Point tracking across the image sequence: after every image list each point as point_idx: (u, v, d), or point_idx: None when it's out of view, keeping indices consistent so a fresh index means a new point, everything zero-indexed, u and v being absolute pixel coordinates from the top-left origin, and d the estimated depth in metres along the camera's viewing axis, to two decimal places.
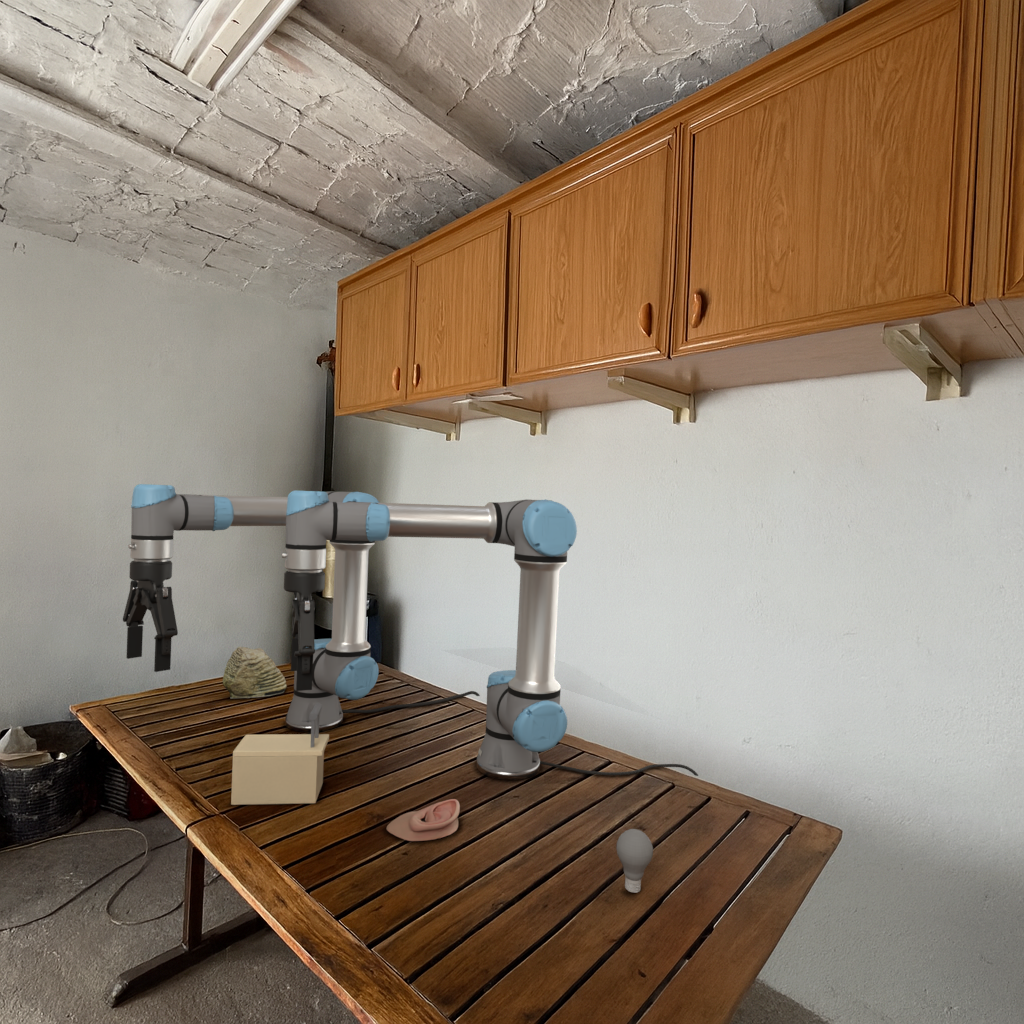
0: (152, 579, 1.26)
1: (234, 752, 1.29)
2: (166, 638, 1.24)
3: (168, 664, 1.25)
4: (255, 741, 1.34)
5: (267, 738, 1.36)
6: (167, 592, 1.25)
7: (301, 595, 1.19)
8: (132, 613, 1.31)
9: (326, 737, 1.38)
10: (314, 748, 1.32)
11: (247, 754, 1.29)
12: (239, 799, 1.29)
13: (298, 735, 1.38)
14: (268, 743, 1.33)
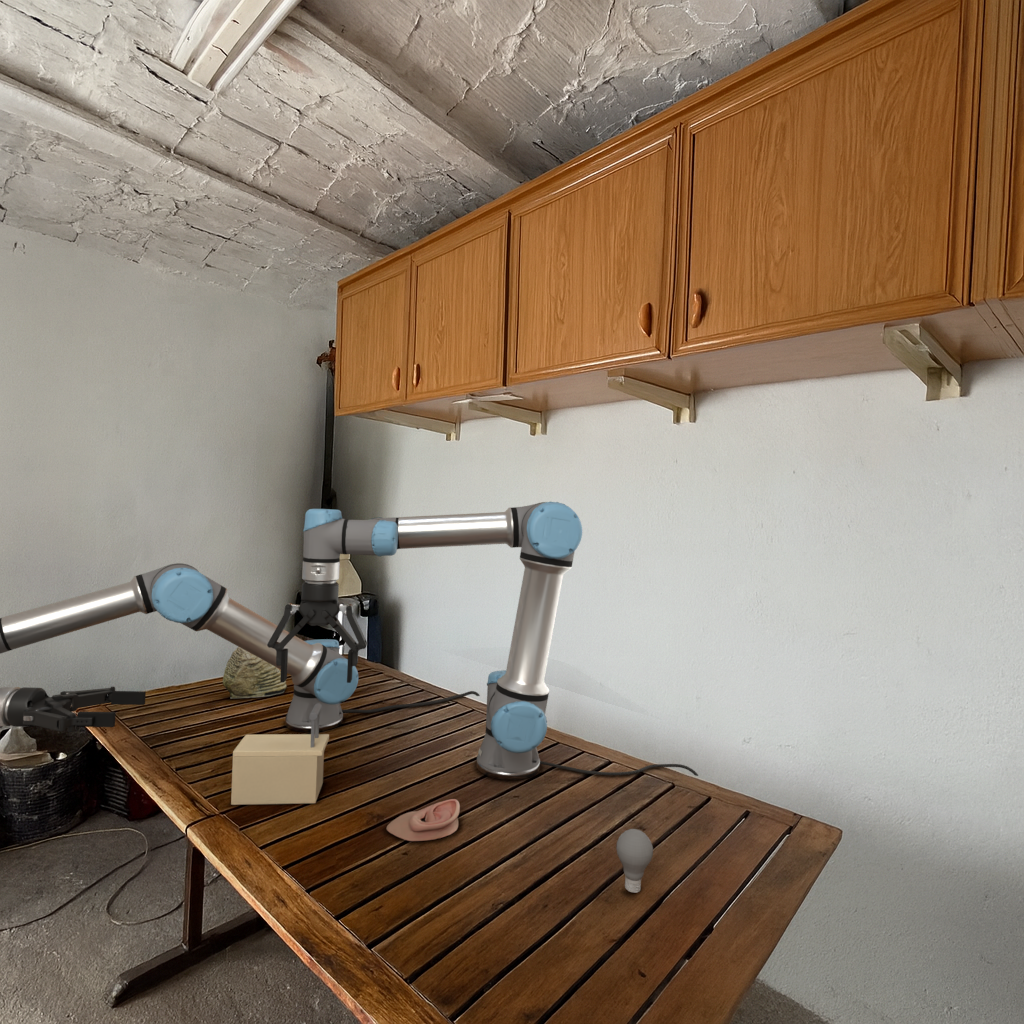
0: None
1: (234, 752, 1.29)
2: (72, 723, 1.21)
3: (107, 715, 1.23)
4: (255, 741, 1.34)
5: (267, 737, 1.36)
6: (27, 716, 1.21)
7: (336, 602, 1.34)
8: None
9: (326, 737, 1.38)
10: (314, 748, 1.32)
11: (247, 754, 1.29)
12: (239, 799, 1.29)
13: (298, 735, 1.38)
14: (268, 743, 1.33)
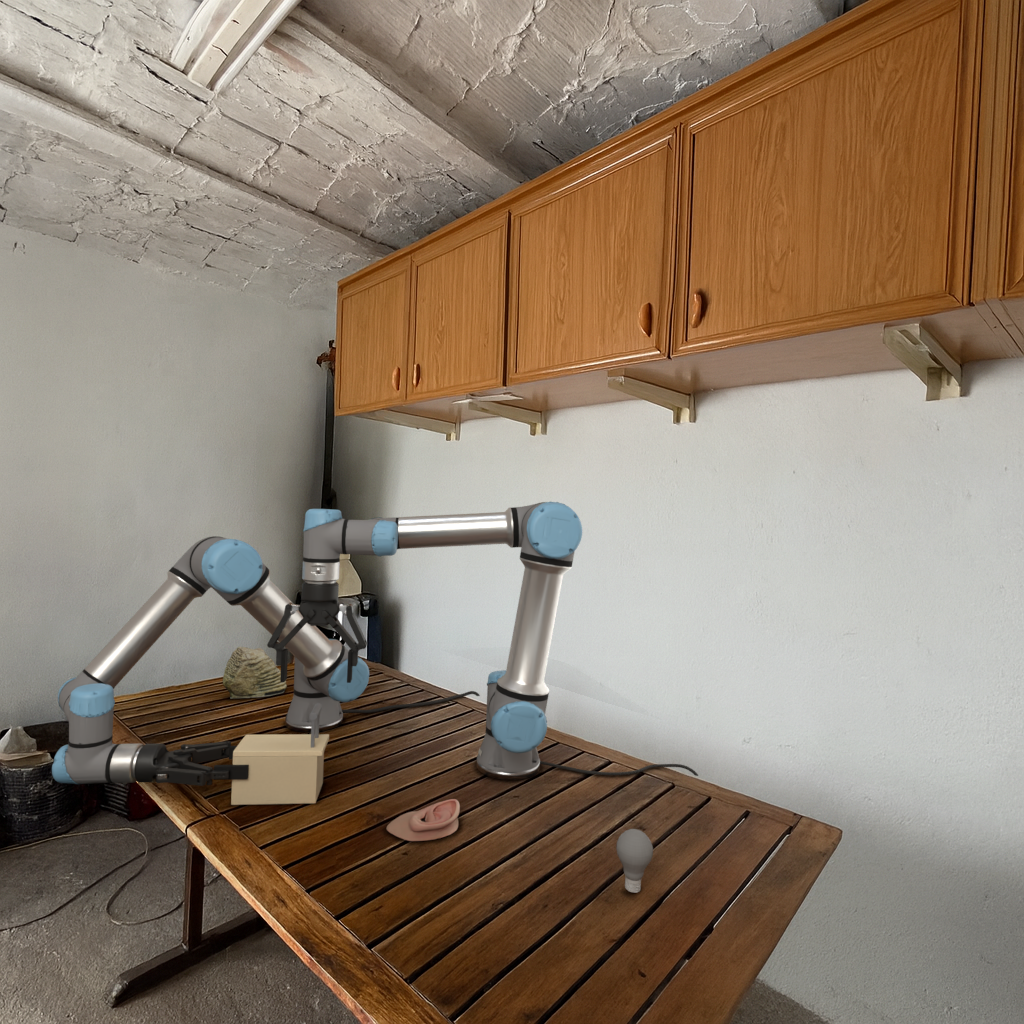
0: (151, 775, 1.27)
1: (234, 752, 1.28)
2: (210, 777, 1.26)
3: (242, 768, 1.28)
4: (255, 741, 1.34)
5: (267, 738, 1.36)
6: (161, 774, 1.25)
7: (336, 602, 1.34)
8: None
9: (326, 737, 1.38)
10: (314, 748, 1.32)
11: (247, 754, 1.29)
12: (239, 799, 1.29)
13: (298, 735, 1.38)
14: (268, 743, 1.33)
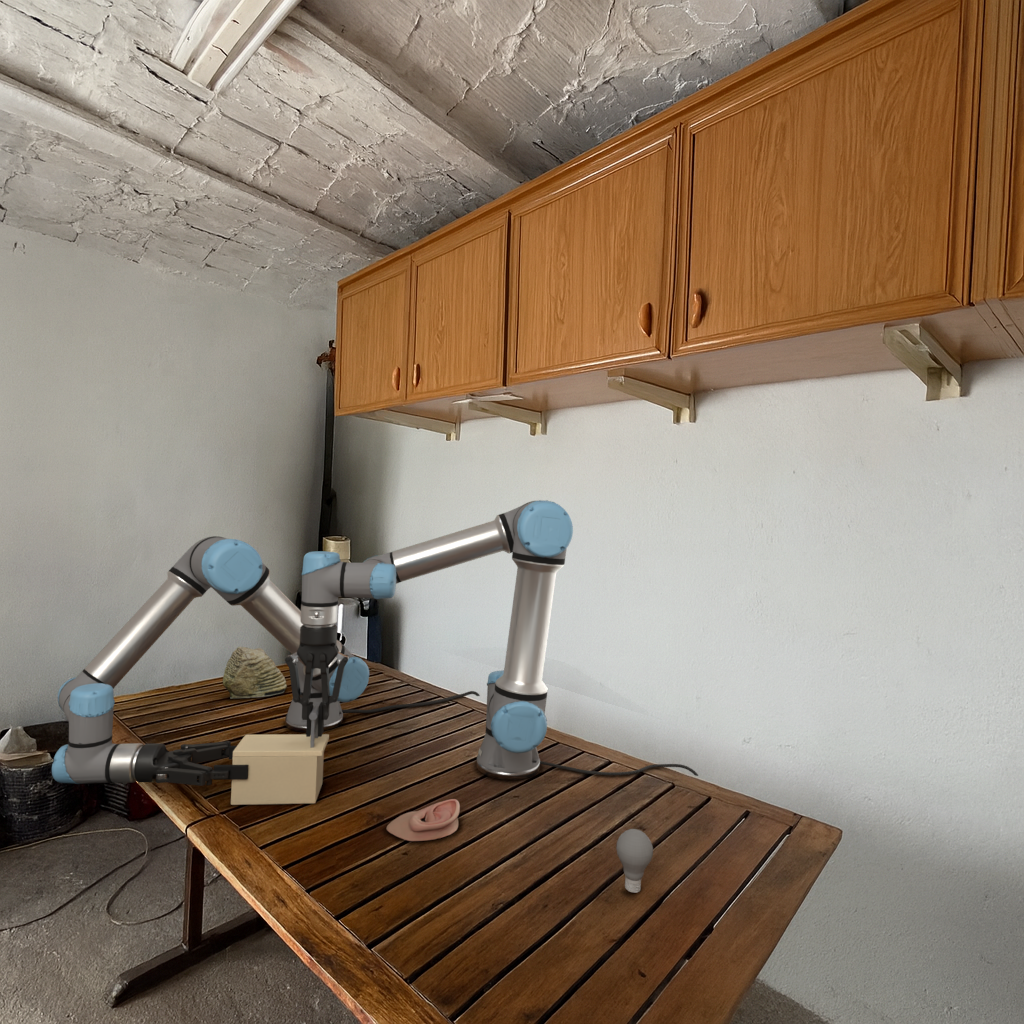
0: (151, 775, 1.27)
1: (234, 752, 1.28)
2: (210, 776, 1.26)
3: (241, 768, 1.28)
4: (255, 741, 1.34)
5: (267, 738, 1.36)
6: (161, 774, 1.25)
7: (335, 645, 1.34)
8: None
9: (326, 737, 1.38)
10: (314, 749, 1.32)
11: (247, 754, 1.29)
12: (239, 799, 1.29)
13: (298, 735, 1.38)
14: (268, 743, 1.33)
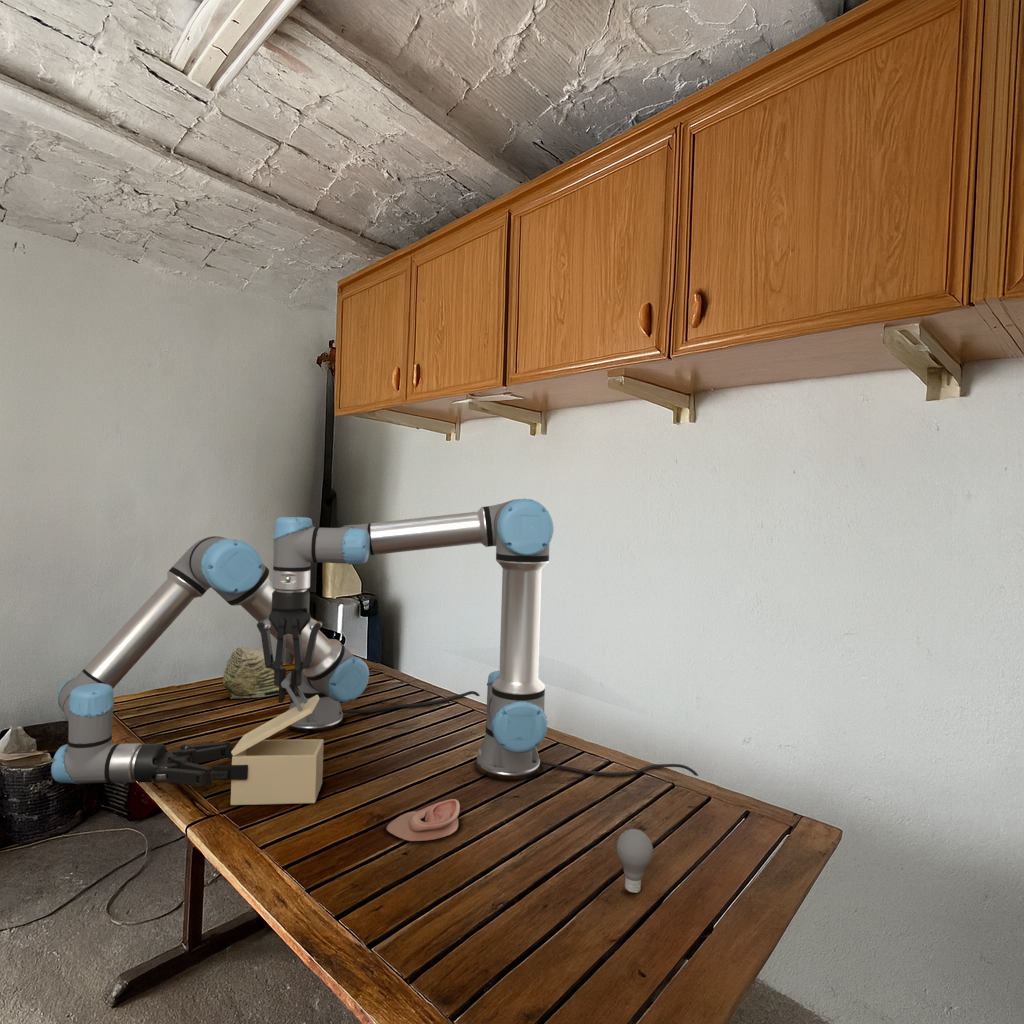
0: (150, 775, 1.27)
1: (232, 752, 1.28)
2: (209, 777, 1.26)
3: (241, 768, 1.28)
4: (251, 734, 1.34)
5: (262, 726, 1.36)
6: (160, 774, 1.25)
7: (307, 611, 1.33)
8: None
9: (314, 697, 1.37)
10: (302, 710, 1.31)
11: (245, 747, 1.29)
12: (238, 799, 1.29)
13: (290, 710, 1.38)
14: (262, 729, 1.33)
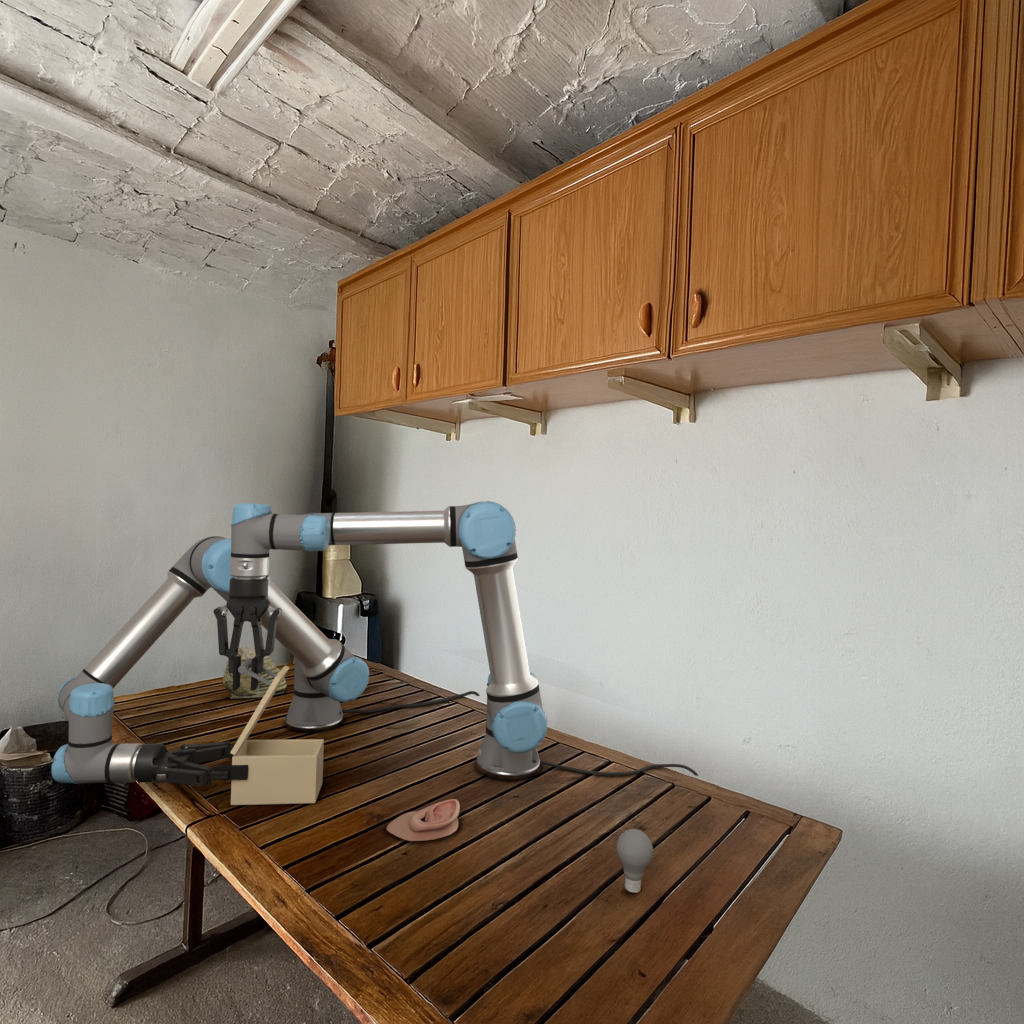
0: (150, 775, 1.27)
1: (231, 752, 1.28)
2: (210, 777, 1.26)
3: (241, 768, 1.28)
4: None
5: None
6: (161, 774, 1.25)
7: (265, 598, 1.32)
8: None
9: None
10: (271, 683, 1.30)
11: (240, 742, 1.29)
12: (239, 799, 1.29)
13: None
14: None
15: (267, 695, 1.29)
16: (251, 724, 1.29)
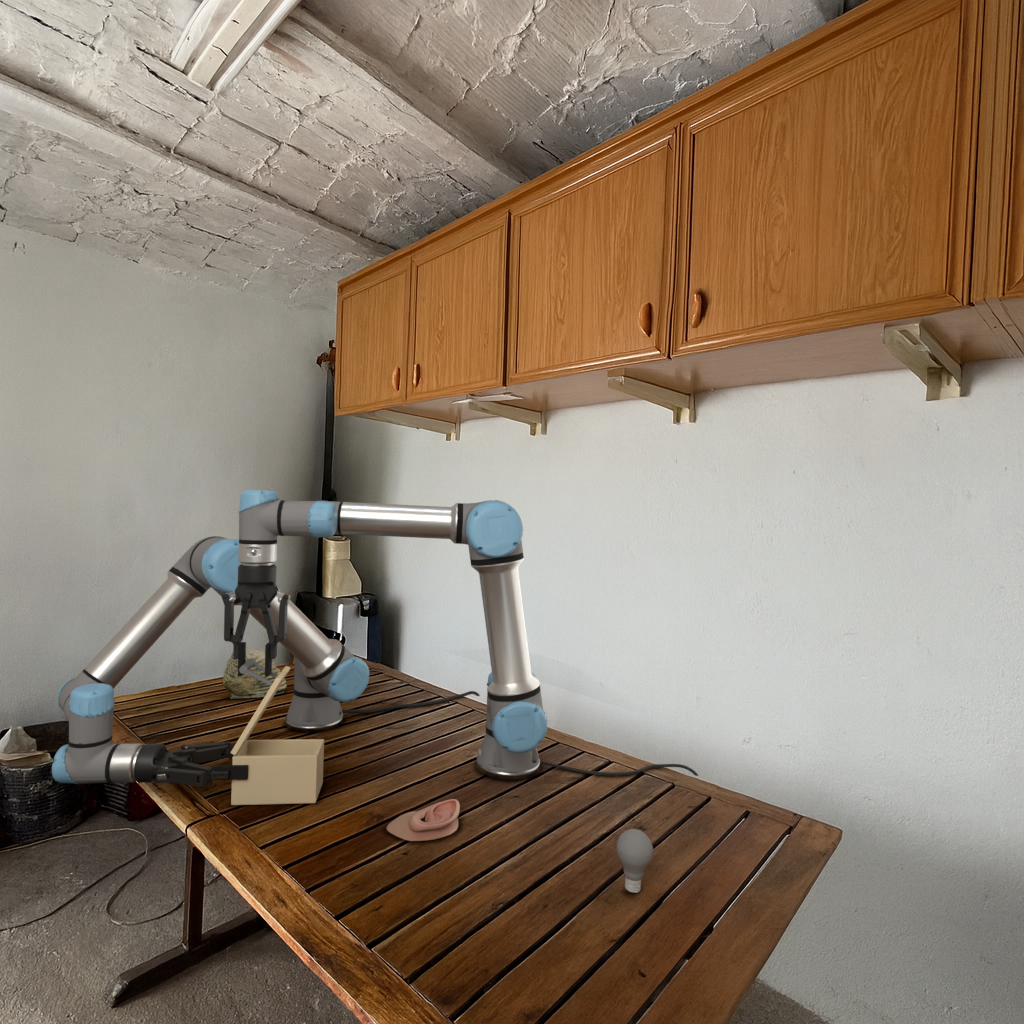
0: (151, 775, 1.27)
1: (231, 752, 1.28)
2: (210, 777, 1.26)
3: (241, 768, 1.28)
4: None
5: None
6: (161, 774, 1.25)
7: (274, 584, 1.32)
8: None
9: (283, 669, 1.36)
10: (272, 683, 1.30)
11: (240, 742, 1.29)
12: (239, 799, 1.29)
13: None
14: None
15: (268, 695, 1.29)
16: (252, 724, 1.29)
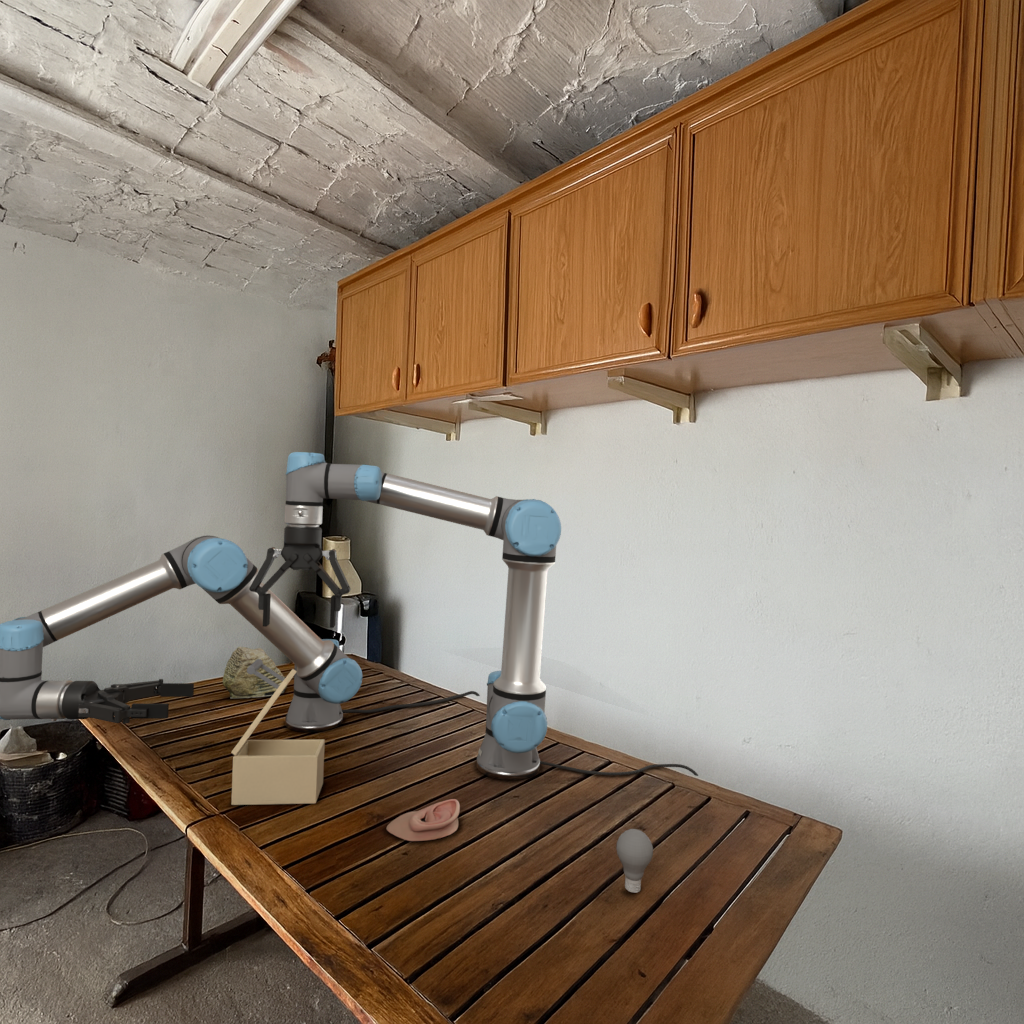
0: (79, 711, 1.25)
1: (232, 752, 1.28)
2: (127, 714, 1.22)
3: (161, 706, 1.24)
4: None
5: None
6: (82, 709, 1.22)
7: (319, 546, 1.33)
8: None
9: None
10: (279, 686, 1.30)
11: (242, 742, 1.29)
12: (239, 799, 1.29)
13: None
14: None
15: (273, 698, 1.29)
16: (255, 726, 1.29)
